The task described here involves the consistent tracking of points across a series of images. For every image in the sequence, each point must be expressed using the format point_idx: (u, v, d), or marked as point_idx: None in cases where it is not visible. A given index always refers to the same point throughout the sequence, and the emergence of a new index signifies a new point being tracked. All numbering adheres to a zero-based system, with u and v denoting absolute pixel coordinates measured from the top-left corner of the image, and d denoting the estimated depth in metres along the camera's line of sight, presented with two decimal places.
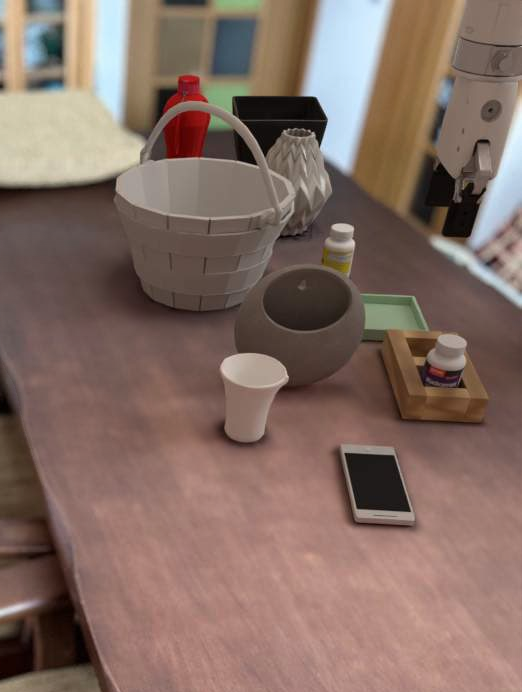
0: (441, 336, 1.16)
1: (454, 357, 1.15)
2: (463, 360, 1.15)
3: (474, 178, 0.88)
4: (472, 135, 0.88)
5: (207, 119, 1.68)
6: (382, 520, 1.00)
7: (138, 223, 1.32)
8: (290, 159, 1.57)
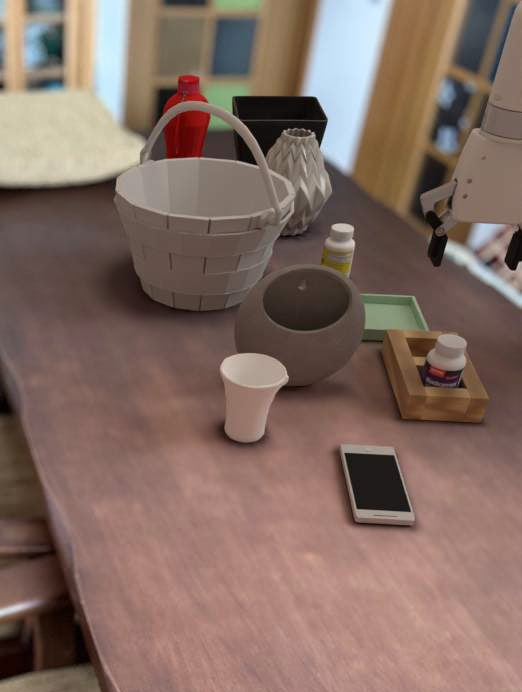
0: (441, 336, 1.16)
1: (454, 357, 1.15)
2: (463, 360, 1.15)
3: None
4: None
5: (207, 119, 1.68)
6: (382, 520, 1.00)
7: (138, 223, 1.32)
8: (290, 159, 1.57)
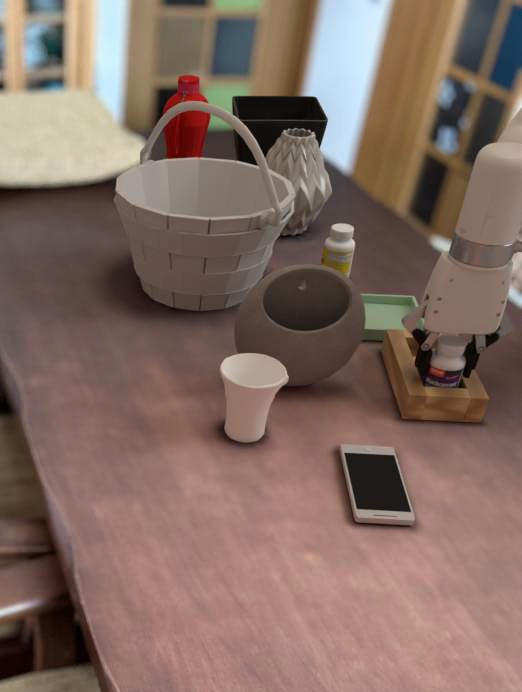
0: (441, 336, 1.16)
1: (454, 357, 1.15)
2: (463, 360, 1.15)
3: (501, 331, 1.13)
4: None
5: (207, 119, 1.68)
6: (382, 520, 1.00)
7: (138, 223, 1.32)
8: (290, 159, 1.57)
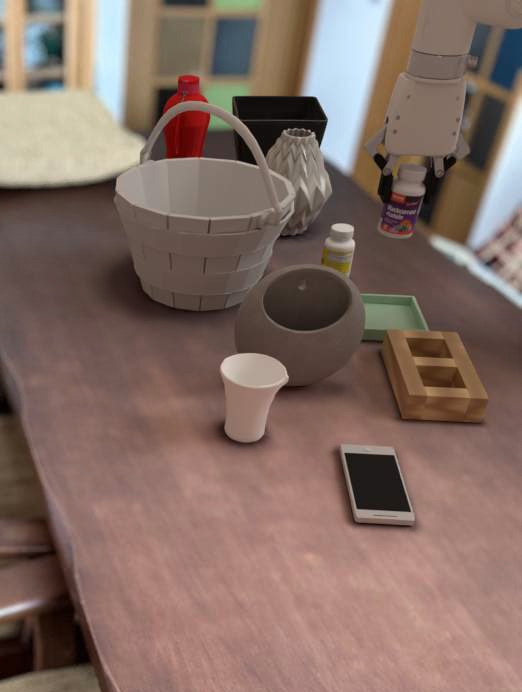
0: (403, 164, 1.22)
1: (414, 183, 1.21)
2: (423, 187, 1.21)
3: (458, 154, 1.19)
4: (461, 119, 1.15)
5: (207, 119, 1.68)
6: (382, 520, 1.00)
7: (138, 223, 1.32)
8: (290, 159, 1.57)
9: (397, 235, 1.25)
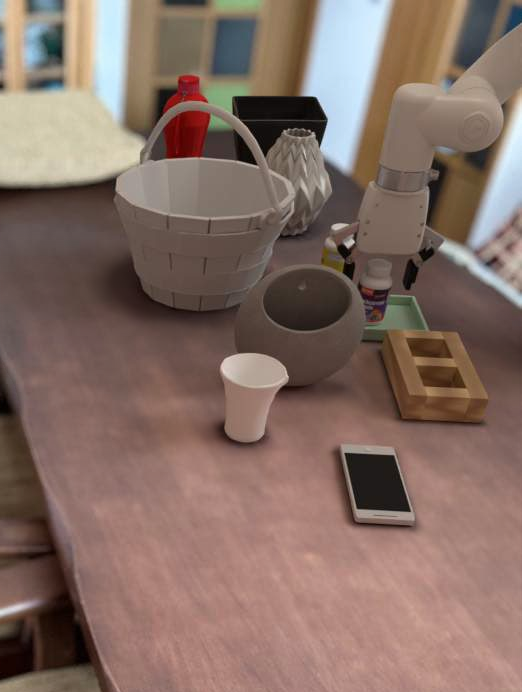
0: (371, 260, 1.34)
1: (381, 278, 1.33)
2: (389, 281, 1.33)
3: (434, 245, 1.30)
4: None
5: (207, 119, 1.68)
6: (382, 520, 1.00)
7: (138, 223, 1.32)
8: (290, 159, 1.57)
9: (369, 323, 1.37)
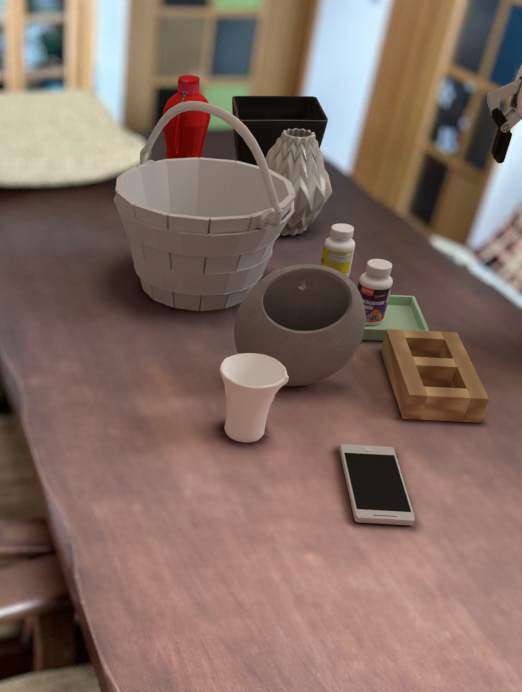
0: (371, 260, 1.34)
1: (381, 278, 1.33)
2: (389, 281, 1.33)
3: None
4: None
5: (207, 119, 1.68)
6: (382, 520, 1.00)
7: (138, 223, 1.32)
8: (290, 159, 1.57)
9: (369, 323, 1.37)
